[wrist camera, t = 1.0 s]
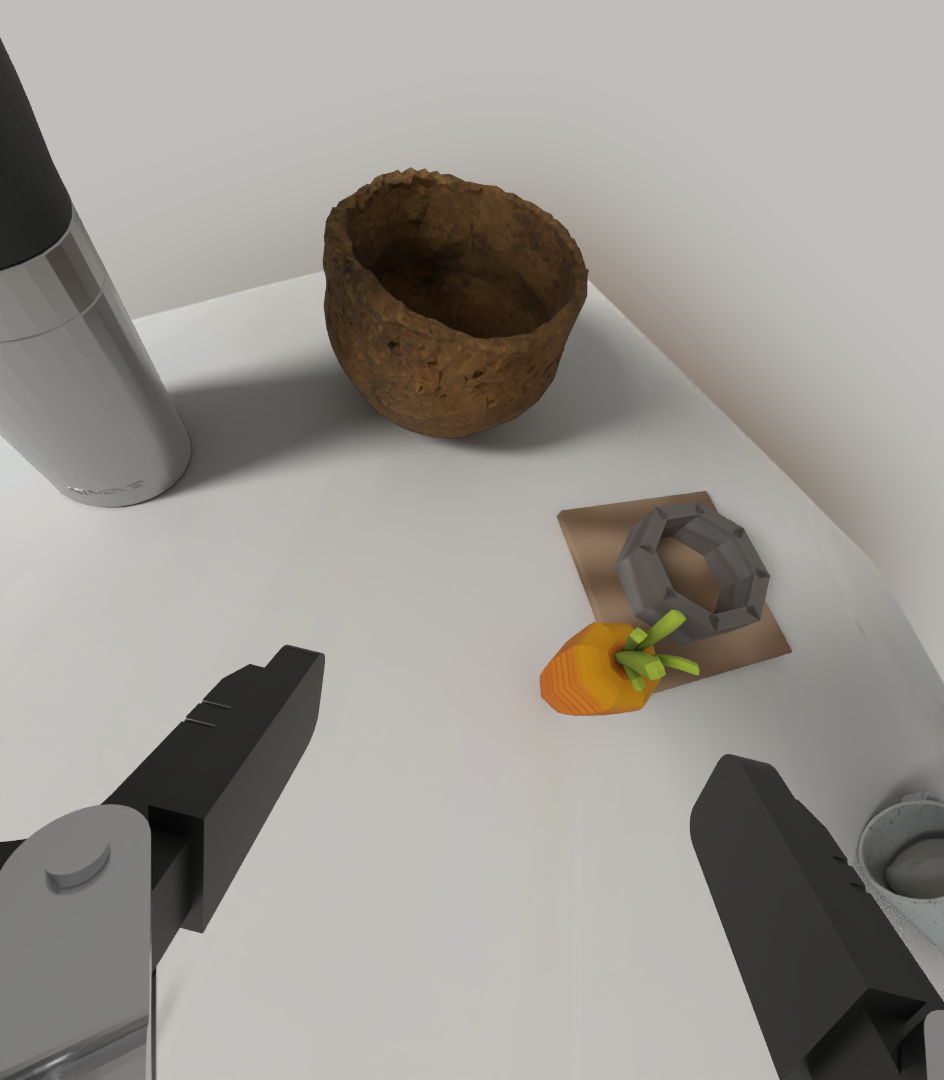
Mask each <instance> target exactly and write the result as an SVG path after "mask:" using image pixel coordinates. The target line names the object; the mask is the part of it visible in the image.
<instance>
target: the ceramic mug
mask: <svg viewBox="0 0 944 1080" xmlns="http://www.w3.org/2000/svg"><path fill="white" fill-rule="evenodd" d="M857 850H858V860H859V863H860V866H861V869H862V871H863V873H864V875H865V876H866V878H867V879H868V881H869V882H870V883H871V884H872V885H873V887H874V888H875V889H876V890H877V891H878V892H880V893H881V894H882V895H883V896H884V897H885V898H886V899H887V900H888V901H889V902H890V903H891V904H893V905H894V906H895V907H896V908H897V909H898V910H899V911H900V912H901V913H902V914H903V915H904V916H905V917H906V918H907V919H908V920H909V921H910V922H911V923H912V924H914V925H915V926H916V927H917V928H918V929H919V930H920V931H921V932H922V933H923V934H924V935H925V936H926V937H928V938H929V939H930V940H931V941H932V942H933V943H934V944H935V945H936V946H937V947H938V948H939V949H940V950H941V951H942V952H943V953H944V803H943V802H942V801H941V800H940V799H939V798H938V797H936V796H935V795H934V794H932V793H931V792H929V791H919V792H915V793H910V794H907V795H904V796H903V797H902V799H901V803H898V804H896V805H892V806H890V807H888V808H886V809H884V810H882V811H881V812H880V813H878V814H877V815H876V816H874V817H873V818H872V819H871V820H870V822H869V823H868V824H867V826H866V827H865V828H864V830H863V832H862V834H861V837H860V840H859V844H858V849H857Z"/></svg>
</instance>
